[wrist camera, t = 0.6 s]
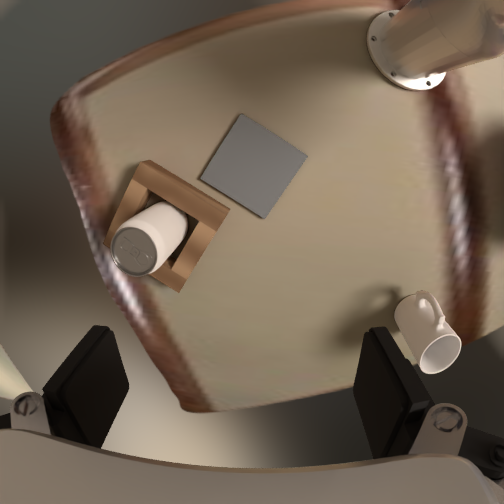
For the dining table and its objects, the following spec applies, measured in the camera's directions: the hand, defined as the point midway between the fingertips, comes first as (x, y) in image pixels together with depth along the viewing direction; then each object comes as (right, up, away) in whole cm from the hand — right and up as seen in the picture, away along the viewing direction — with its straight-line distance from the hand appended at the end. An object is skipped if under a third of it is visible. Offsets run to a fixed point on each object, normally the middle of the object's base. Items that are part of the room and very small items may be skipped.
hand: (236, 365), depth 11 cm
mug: (+26, -4, +34) cm, 43 cm away
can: (-11, +8, +32) cm, 35 cm away
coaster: (+1, +15, +28) cm, 32 cm away
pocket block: (-11, +8, +32) cm, 35 cm away
